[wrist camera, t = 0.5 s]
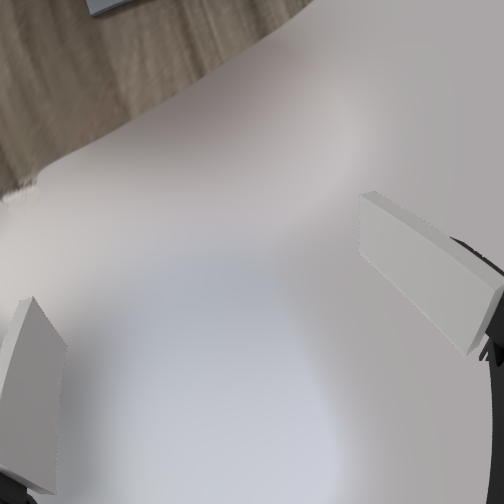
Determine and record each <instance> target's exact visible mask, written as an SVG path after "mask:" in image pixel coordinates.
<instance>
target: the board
mask: <svg viewBox="0 0 504 504" xmlns="http://www.w3.org/2000/svg"><path fill="white" fill-rule="evenodd" d="M130 1H133V0H86V2H87V5H88V8H89V12H90V15H91V16H92V17H94V16H96V15H99V14H101V13H103V12H105V11H108V10H110V9H112V8H115V7H117V6H120V5H122V4H125V3H127V2H130Z"/></svg>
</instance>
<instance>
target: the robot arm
mask: <svg viewBox="0 0 504 504" xmlns="http://www.w3.org/2000/svg"><path fill="white" fill-rule="evenodd" d="M359 254H360V255H361V256H362V257H363V258H364V259H366V260H367V261H368V262H369V263H370V264H371V265H372V266H373V267H374V268H376V269H377V270H378V271H379V272H380V273H381V274H382V275H383V276H384V277H385V278H386V279H387V280H388V281H390V282H391V283H392V284H393V285H394V286H395V287H396V288H397V289H398V290H399V291H400V292H401V293H402V294H403V295H404V296H405V297H406V298H407V299H408V300H409V301H411V302H412V304H414V305H415V306H416V307H417V308H418V309H419V310H420V311H421V312H422V313H423V314H424V315H425V316H426V317H427V318H428V319H429V320H430V321H431V322H432V323H433V324H434V325H435V326H436V327H437V328H438V329H439V330H440V331H441V333H443V335H444V336H445V337H446V338H447V339H448V340H449V341H450V342H451V343H452V344H453V345H454V346H455V347H456V348H457V349H458V350H459V351H460V352H461V354H462V355H463V356H464V357H465V356H466V355H468V354H469V353H470V352H471V351H473V350H474V349H475V348H476V347H477V346H479V344H480V342H481V340H482V338H483V336H484V334H485V333H486V334H487V335H488V336H489V339H488V341H487V343H486V345H485V347H484V348H483V350H482V352H481V354H480V356H479V361H482V359H483V358H484V356H485V354H486V353H487V351H488V356H487V357H486V361H489V367H490V377H491V390H492V414H493V415H492V416H493V417H492V418H493V432H492V456H491V469H490V479H489V487H488V494H487V501H486V504H504V272H503V271H502V270H501V269H500V268H498V267H497V266H496V265H494V264H493V263H492V262H490V261H489V260H487V259H486V258H485V257H482V255H481V254H479V253H478V252H477V251H474V250H473V249H472V248H471V247H469V246H468V245H467V244H465V243H464V242H462V241H459V240H457V239H454V238H452V237H448V236H447V235H445V234H444V233H442V232H441V231H439V230H438V229H436V228H435V227H433V226H432V225H430V224H429V223H427V222H426V221H424V220H422V219H421V218H419V217H418V216H416V215H414V214H413V213H411V212H409V211H408V210H406V209H404V208H403V207H401V206H399V205H398V204H396V203H394V202H393V201H391V200H389V199H388V198H386V197H384V196H382V195H381V194H379V193H377V192H375V191H373V192H369V193H365V194H362V195H360V221H359ZM66 352H67V345H66V343H65V342H64V341H63V339H62V338H61V336H60V335H59V334H58V333H57V331H56V330H55V328H54V327H53V325H52V324H51V323H50V321H49V320H48V318H47V317H46V315H45V314H44V312H43V311H42V309H41V308H40V306H39V305H38V303H37V302H36V300H35V298H34V297H30V298H28V299H24V300H22V301H20V302H19V304H18V306H17V308H16V311H15V313H14V315H13V318H12V320H11V323H10V325H9V328H8V330H7V333H6V336H5V338H4V341H3V344H2V347H1V349H0V504H37V503H36V501H35V500H34V499H33V497H32V496H30V495H29V494H27V488H29V489H31V490H33V491H35V492H37V493H39V494H51V495H56V439H57V424H58V411H59V401H60V392H61V384H62V377H63V370H64V364H65V357H66Z"/></svg>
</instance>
